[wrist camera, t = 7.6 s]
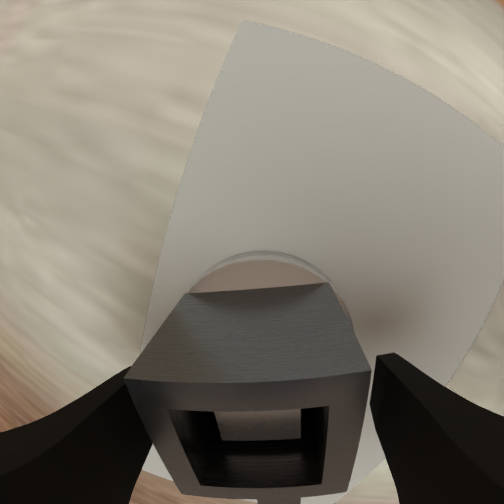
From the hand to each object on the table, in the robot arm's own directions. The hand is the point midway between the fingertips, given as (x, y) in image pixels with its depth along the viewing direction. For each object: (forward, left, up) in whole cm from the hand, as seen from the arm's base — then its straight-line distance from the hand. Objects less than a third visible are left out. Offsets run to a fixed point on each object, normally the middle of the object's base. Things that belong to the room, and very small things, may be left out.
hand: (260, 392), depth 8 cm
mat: (-3, +2, -4) cm, 5 cm away
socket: (0, 0, -2) cm, 2 cm away
